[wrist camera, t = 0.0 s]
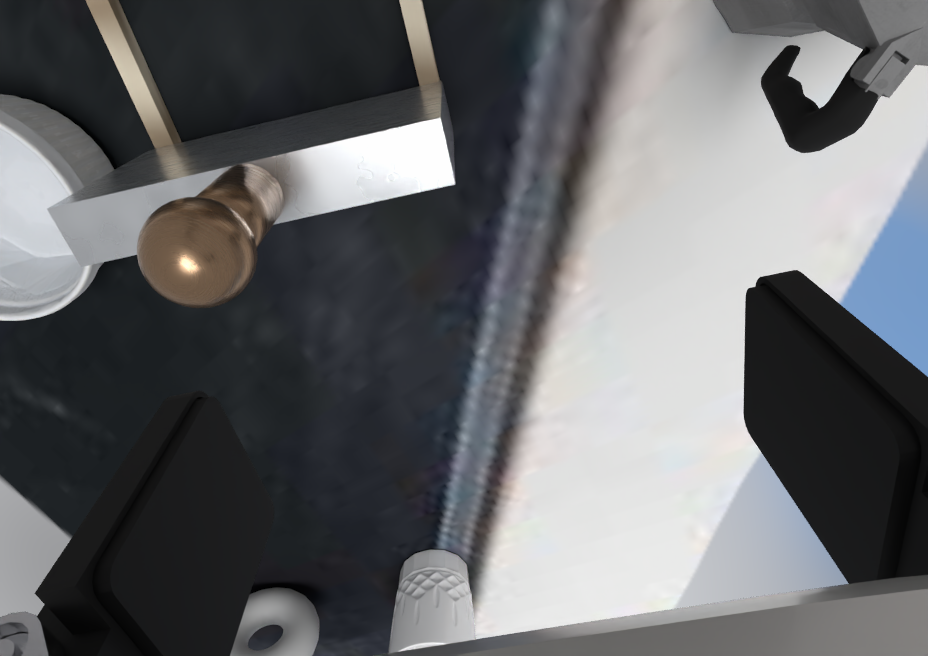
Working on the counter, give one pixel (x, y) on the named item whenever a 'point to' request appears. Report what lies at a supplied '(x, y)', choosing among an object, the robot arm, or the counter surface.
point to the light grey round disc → (279, 623)
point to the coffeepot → (871, 76)
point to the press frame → (148, 96)
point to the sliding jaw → (255, 189)
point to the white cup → (432, 602)
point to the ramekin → (40, 207)
